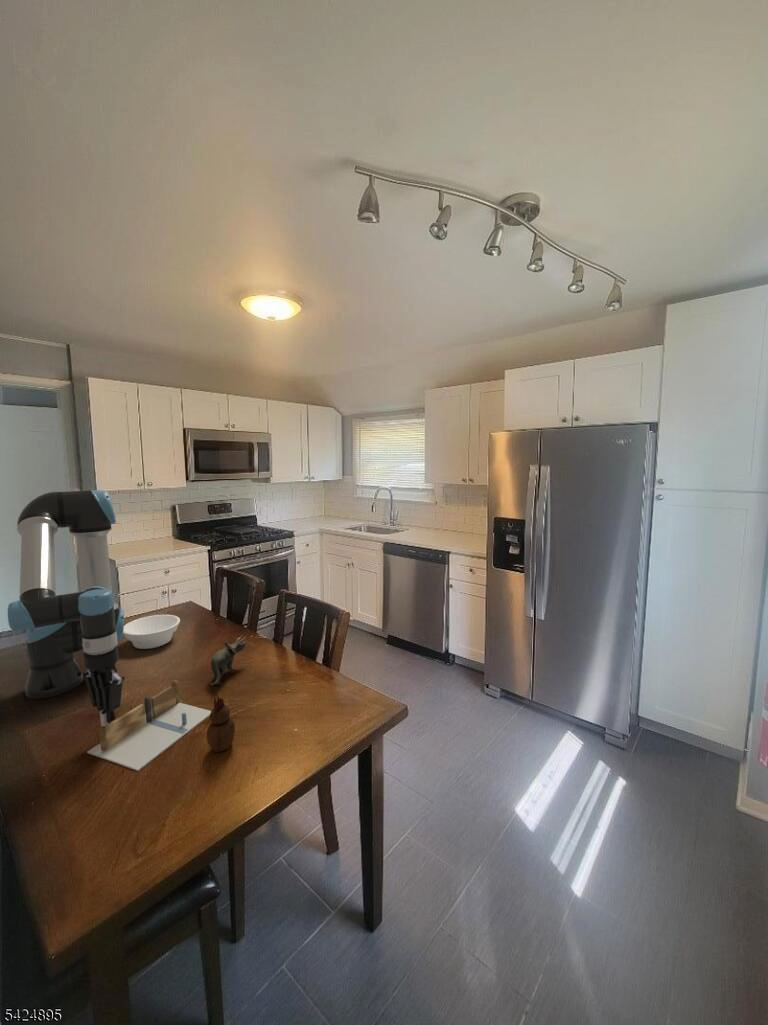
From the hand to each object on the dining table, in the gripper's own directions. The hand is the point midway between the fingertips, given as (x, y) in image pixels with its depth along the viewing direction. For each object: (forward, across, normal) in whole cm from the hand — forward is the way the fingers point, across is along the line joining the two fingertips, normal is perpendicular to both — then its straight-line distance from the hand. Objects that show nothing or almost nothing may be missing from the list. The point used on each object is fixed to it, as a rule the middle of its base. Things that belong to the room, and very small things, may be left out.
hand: (108, 731), depth 113 cm
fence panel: (+1, +4, +1) cm, 4 cm away
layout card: (+2, +9, +7) cm, 11 cm away
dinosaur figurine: (+2, +6, +36) cm, 37 cm away
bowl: (+2, -40, +48) cm, 63 cm away
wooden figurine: (+2, +31, +8) cm, 32 cm away
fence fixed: (+2, +4, +14) cm, 15 cm away
